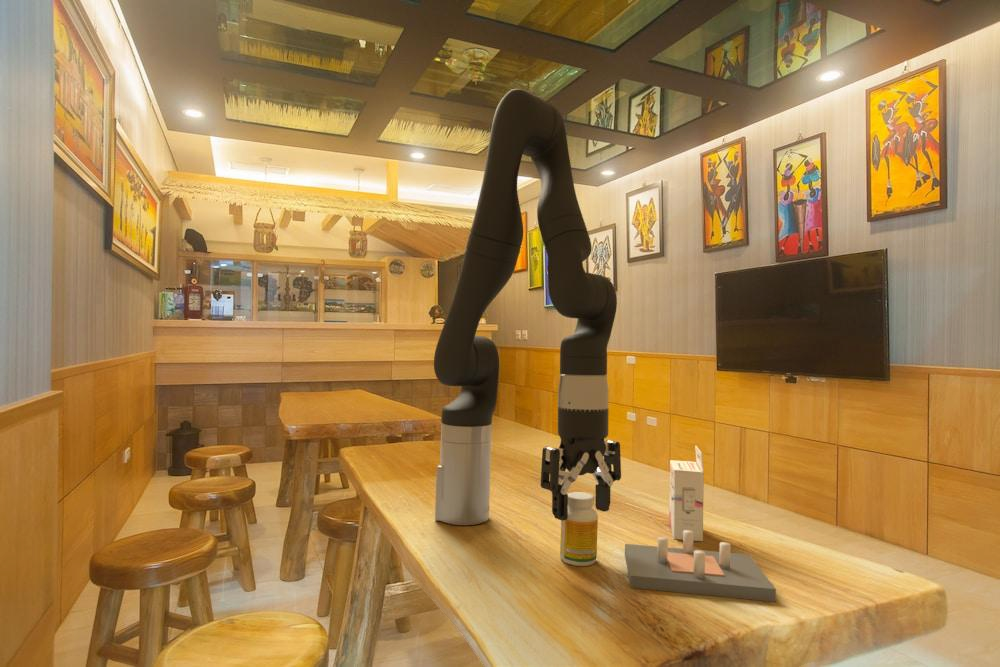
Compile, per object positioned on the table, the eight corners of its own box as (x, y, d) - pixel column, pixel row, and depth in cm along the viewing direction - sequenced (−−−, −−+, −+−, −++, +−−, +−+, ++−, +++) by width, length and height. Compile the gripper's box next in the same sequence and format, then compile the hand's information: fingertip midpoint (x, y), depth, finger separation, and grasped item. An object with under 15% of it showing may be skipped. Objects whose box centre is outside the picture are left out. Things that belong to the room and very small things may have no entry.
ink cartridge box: (667, 523, 100) (669, 443, 101) (695, 526, 99) (697, 444, 100) (672, 539, 92) (674, 451, 92) (703, 542, 91) (705, 453, 91)
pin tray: (630, 587, 73) (631, 551, 73) (624, 554, 84) (625, 522, 85) (775, 601, 70) (776, 563, 70) (748, 565, 82) (749, 532, 82)
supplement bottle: (554, 555, 83) (555, 491, 83) (585, 551, 85) (587, 489, 85) (570, 569, 78) (572, 501, 78) (603, 565, 80) (605, 498, 80)
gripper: (564, 409, 75) (563, 529, 74) (634, 405, 83) (633, 513, 83) (530, 405, 81) (528, 516, 80) (598, 401, 89) (597, 502, 89)
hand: (582, 514), depth 81 cm, fingers open, 8 cm apart
